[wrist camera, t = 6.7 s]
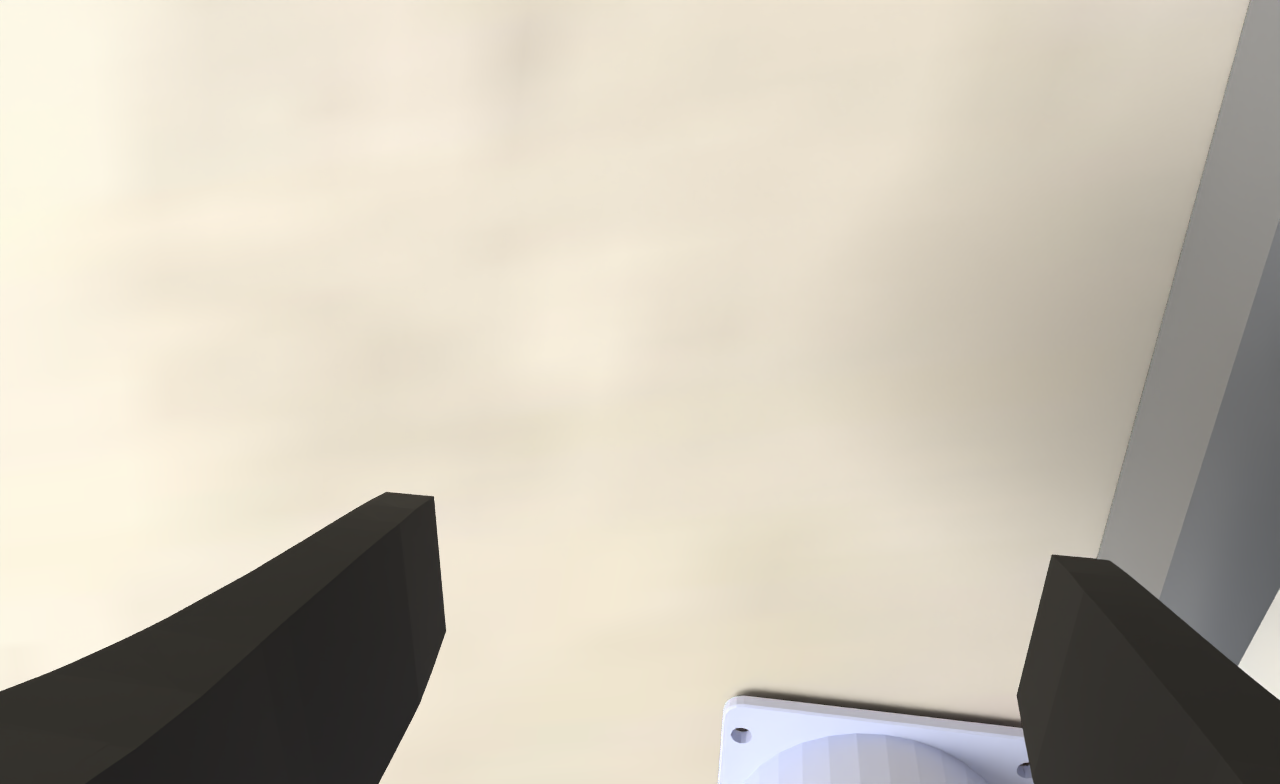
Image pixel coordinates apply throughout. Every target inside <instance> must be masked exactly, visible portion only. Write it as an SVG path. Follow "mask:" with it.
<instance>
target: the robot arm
mask: <svg viewBox="0 0 1280 784" xmlns="http://www.w3.org/2000/svg"><path fill="white" fill-rule="evenodd" d="M445 633H446V625H445V614H444V603H443V592H442V581H441V570H440V559H439V548H438V537H437V526H436V515H435V504H434V496H423V495H412V494H402V493H391V492H385V493H383V494H382V495H380V496H378V497H376V498H374V499H372V500H370V501H368V502H366V503H365V504H363V505H361V506H359V507H358V508H356V509H354V510H353V511H351V512H349V513H348V514H346V515H344V516H343V517H341V518H339V519H338V520H336V521H334V522H333V523H331V524H329V525H328V526H326V527H325V528H323V529H321V530H320V531H318V532H316V533H315V534H313V535H311V536H310V537H308V538H307V539H305V540H303V541H302V542H300V543H298V544H297V545H295V546H293V547H292V548H290V549H288V550H287V551H285V552H283V553H282V554H280V555H278V556H277V557H275V558H273V559H272V560H270V561H268V562H267V563H265V564H263V565H262V566H260V567H258V568H257V569H255V570H253V571H252V572H250V573H248V574H246V575H245V576H243V577H241V578H239V579H237V580H235V581H234V582H232V583H230V584H228V585H226V586H224V587H223V588H221V589H219V590H217V591H215V592H214V593H212V594H210V595H208V596H206V597H204V598H203V599H201V600H199V601H197V602H195V603H194V604H192V605H190V606H188V607H186V608H184V609H183V610H181V611H179V612H177V613H175V614H173V615H172V616H170V617H168V618H166V619H164V620H162V621H160V622H158V623H156V624H154V625H152V626H150V627H148V628H146V629H144V630H142V631H140V632H138V633H136V634H134V635H132V636H130V637H128V638H126V639H123V640H121V641H119V642H117V643H115V644H113V645H110V646H108V647H106V648H104V649H102V650H99V651H97V652H95V653H93V654H90V655H88V656H86V657H84V658H82V659H79V660H77V661H75V662H73V663H71V664H68V665H66V666H64V667H61V668H59V669H56V670H54V671H52V672H49V673H47V674H44V675H42V676H39V677H37V678H34V679H31V680H29V681H26V682H24V683H21V684H18V685H16V686H13V687H11V688H8V689H5V690H3V691H0V784H379V782H380V780H381V778H382V776H383V774H384V772H385V770H386V768H387V767H388V765H389V763H390V761H391V759H392V757H393V755H394V753H395V751H396V749H397V747H398V745H399V743H400V741H401V740H402V738H403V736H404V734H405V732H406V730H407V728H408V726H409V724H410V722H411V720H412V718H413V716H414V714H415V712H416V710H417V708H418V706H419V704H420V702H421V699H422V696H423V694H424V691H425V688H426V686H427V683H428V680H429V678H430V675H431V673H432V670H433V667H434V664H435V661H436V658H437V655H438V653H439V650H440V647H441V644H442V641H443V638H444V635H445ZM1017 699H1018V705H1019V711H1020V717H1021V722H1022V728H1017V727H1009V726H1000V725H992V724H983V723H975V722H966V721H957V720H949V719H940V718H932V717H923V716H915V715H906V714H898V713H889V712H880V711H872V710H863V709H855V708H846V707H838V706H829V705H820V704H812V703H803V702H795V701H786V700H778V699H769V698H760V697H752V696H735V697H733V698H730V699H729V700H728V701H727V702H726V703H725V706H724V710H723V722H722V736H721V749H720V763H719V777H718V784H1280V700H1279V699H1278V698H1276V697H1275V696H1274V695H1273V694H1271V693H1270V692H1269V691H1268V690H1266V689H1265V688H1264V687H1263V686H1261V685H1260V684H1259V683H1258V682H1256V681H1255V680H1254V679H1253V678H1252V677H1250V676H1249V675H1248V674H1247V673H1245V672H1244V671H1243V670H1242V669H1241V668H1239V667H1238V666H1237V665H1236V664H1235V663H1233V662H1232V661H1231V660H1230V659H1228V658H1227V657H1226V656H1225V655H1224V654H1222V653H1221V652H1220V651H1219V650H1218V649H1216V648H1215V647H1214V646H1213V645H1212V644H1211V643H1209V642H1208V641H1207V640H1206V639H1205V638H1203V637H1202V636H1201V635H1200V634H1199V633H1197V632H1196V631H1195V630H1194V629H1193V628H1192V627H1190V626H1189V625H1188V624H1187V623H1186V622H1184V621H1183V620H1182V619H1181V618H1180V617H1179V616H1177V615H1176V614H1175V613H1174V612H1173V611H1172V610H1170V609H1169V608H1168V607H1167V606H1166V605H1164V604H1163V603H1162V602H1161V601H1160V600H1159V599H1157V598H1156V597H1155V596H1154V595H1153V594H1151V593H1150V592H1149V591H1148V590H1147V589H1145V588H1144V587H1143V586H1142V585H1141V584H1139V583H1138V582H1137V581H1136V580H1135V579H1133V578H1132V577H1131V576H1130V575H1128V574H1127V573H1126V572H1125V571H1123V570H1122V569H1121V568H1119V567H1118V566H1117V565H1115V564H1114V563H1113V562H1111V561H1110V560H1104V559H1093V558H1082V557H1072V556H1061V555H1052V556H1051V560H1050V564H1049V568H1048V572H1047V576H1046V580H1045V584H1044V588H1043V592H1042V596H1041V600H1040V604H1039V608H1038V612H1037V616H1036V620H1035V624H1034V628H1033V632H1032V636H1031V640H1030V644H1029V648H1028V652H1027V656H1026V660H1025V664H1024V668H1023V672H1022V676H1021V680H1020V684H1019V688H1018V692H1017ZM736 728H745V729H747V730H748V731H745V732H741V731H738V730H736ZM1023 763H1029V764H1030V765H1028V766H1021V764H1023Z"/></svg>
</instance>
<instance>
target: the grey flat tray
mask: <svg viewBox="0 0 1280 784" xmlns="http://www.w3.org/2000/svg"><path fill="white" fill-rule="evenodd" d="M1097 559H1104V560H1110V561H1111V562H1113V563H1114V564H1115V565H1117V566H1118V567H1119V568H1121V569H1122V570H1123V571H1125V572H1126V573H1127V574H1128V575H1130V576H1131V577H1132V578H1133V579H1135V580H1136V581H1137V582H1138V583H1139V584H1141V585H1142V586H1143V587H1144V588H1145V589H1147V590H1148V591H1149V592H1150V593H1151V594H1153V595H1154V596H1155V597H1156V598H1157V599H1159V600H1160V601H1161V602H1162V603H1163V604H1164V605H1166V606H1167V607H1168V608H1169V609H1170V610H1172V611H1173V612H1174V613H1175V614H1176V615H1177V616H1179V617H1180V618H1181V619H1182V620H1183V621H1184V622H1186V623H1187V624H1188V625H1189V626H1190V627H1192V628H1193V629H1194V630H1195V631H1196V632H1197V633H1199V634H1200V635H1201V636H1202V637H1203V638H1205V639H1206V640H1207V641H1208V642H1209V643H1211V644H1212V645H1213V646H1214V647H1215V648H1216V649H1218V650H1219V651H1220V652H1221V653H1222V654H1224V655H1225V656H1226V657H1227V658H1228V659H1230V660H1231V661H1232V662H1233V663H1235V664H1236V665H1237V666H1238V665H1239V663H1240V661H1241V659H1242V658H1243V656H1244V654H1245V652H1246V650H1247V648H1248V646H1249V645H1250V643H1251V641H1252V639H1253V637H1254V635H1255V633H1256V632H1257V630H1258V628H1259V626H1260V624H1261V622H1262V620H1263V619H1264V617H1265V615H1266V613H1267V611H1268V609H1269V607H1270V606H1271V604H1272V602H1273V600H1274V598H1275V596H1276V594H1277V593H1278V591H1279V589H1280V0H1250V3H1249V6H1248V10H1247V14H1246V17H1245V21H1244V25H1243V28H1242V32H1241V36H1240V39H1239V43H1238V46H1237V50H1236V54H1235V57H1234V61H1233V65H1232V68H1231V72H1230V76H1229V79H1228V83H1227V87H1226V90H1225V94H1224V97H1223V101H1222V105H1221V108H1220V112H1219V116H1218V119H1217V123H1216V127H1215V130H1214V134H1213V138H1212V141H1211V145H1210V148H1209V152H1208V156H1207V159H1206V163H1205V167H1204V170H1203V174H1202V178H1201V181H1200V185H1199V189H1198V192H1197V196H1196V199H1195V203H1194V207H1193V210H1192V214H1191V218H1190V221H1189V225H1188V229H1187V232H1186V236H1185V240H1184V243H1183V247H1182V250H1181V254H1180V258H1179V261H1178V265H1177V269H1176V272H1175V276H1174V280H1173V283H1172V287H1171V291H1170V294H1169V298H1168V301H1167V305H1166V309H1165V312H1164V316H1163V320H1162V323H1161V327H1160V331H1159V334H1158V338H1157V342H1156V345H1155V349H1154V352H1153V356H1152V360H1151V363H1150V367H1149V371H1148V374H1147V378H1146V382H1145V385H1144V389H1143V393H1142V396H1141V400H1140V403H1139V407H1138V411H1137V414H1136V418H1135V422H1134V425H1133V429H1132V433H1131V436H1130V440H1129V443H1128V447H1127V451H1126V454H1125V458H1124V462H1123V465H1122V469H1121V473H1120V476H1119V480H1118V484H1117V487H1116V491H1115V494H1114V498H1113V502H1112V505H1111V509H1110V513H1109V516H1108V520H1107V524H1106V527H1105V531H1104V535H1103V538H1102V542H1101V545H1100V549H1099V553H1098V556H1097Z"/></svg>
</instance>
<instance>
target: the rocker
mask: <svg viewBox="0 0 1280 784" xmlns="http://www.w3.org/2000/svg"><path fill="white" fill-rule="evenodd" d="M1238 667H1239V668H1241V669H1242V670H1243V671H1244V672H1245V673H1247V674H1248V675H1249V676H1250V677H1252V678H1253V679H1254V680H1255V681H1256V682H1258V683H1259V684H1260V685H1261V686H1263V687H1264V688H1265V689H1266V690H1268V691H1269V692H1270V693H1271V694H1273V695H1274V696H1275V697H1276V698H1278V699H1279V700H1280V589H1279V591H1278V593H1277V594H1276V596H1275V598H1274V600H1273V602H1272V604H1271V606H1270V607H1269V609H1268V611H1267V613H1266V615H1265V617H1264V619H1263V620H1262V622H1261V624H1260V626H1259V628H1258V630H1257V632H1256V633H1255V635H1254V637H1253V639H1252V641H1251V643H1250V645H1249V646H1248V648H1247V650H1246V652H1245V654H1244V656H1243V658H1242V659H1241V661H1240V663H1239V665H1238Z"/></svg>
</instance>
